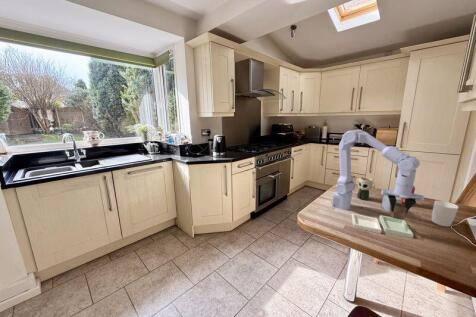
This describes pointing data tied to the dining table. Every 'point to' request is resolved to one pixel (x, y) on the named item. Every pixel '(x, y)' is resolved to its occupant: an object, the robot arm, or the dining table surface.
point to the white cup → (444, 213)
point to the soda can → (404, 198)
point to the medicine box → (388, 203)
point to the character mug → (364, 187)
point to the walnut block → (399, 211)
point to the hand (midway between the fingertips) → (398, 211)
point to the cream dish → (366, 223)
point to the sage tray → (395, 226)
